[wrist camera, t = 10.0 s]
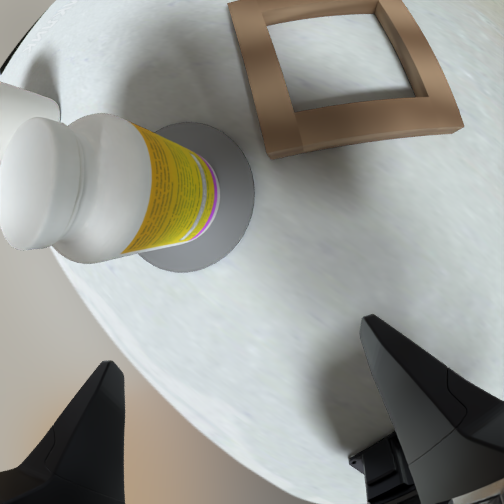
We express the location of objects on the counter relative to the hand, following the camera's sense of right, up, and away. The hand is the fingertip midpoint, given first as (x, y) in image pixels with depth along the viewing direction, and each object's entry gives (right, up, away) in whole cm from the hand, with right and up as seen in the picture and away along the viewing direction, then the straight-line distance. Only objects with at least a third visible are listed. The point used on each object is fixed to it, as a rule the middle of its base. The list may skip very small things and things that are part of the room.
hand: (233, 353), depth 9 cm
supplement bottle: (-4, +7, +10) cm, 13 cm away
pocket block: (+7, +18, +7) cm, 20 cm away
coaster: (-5, +7, +11) cm, 14 cm away
